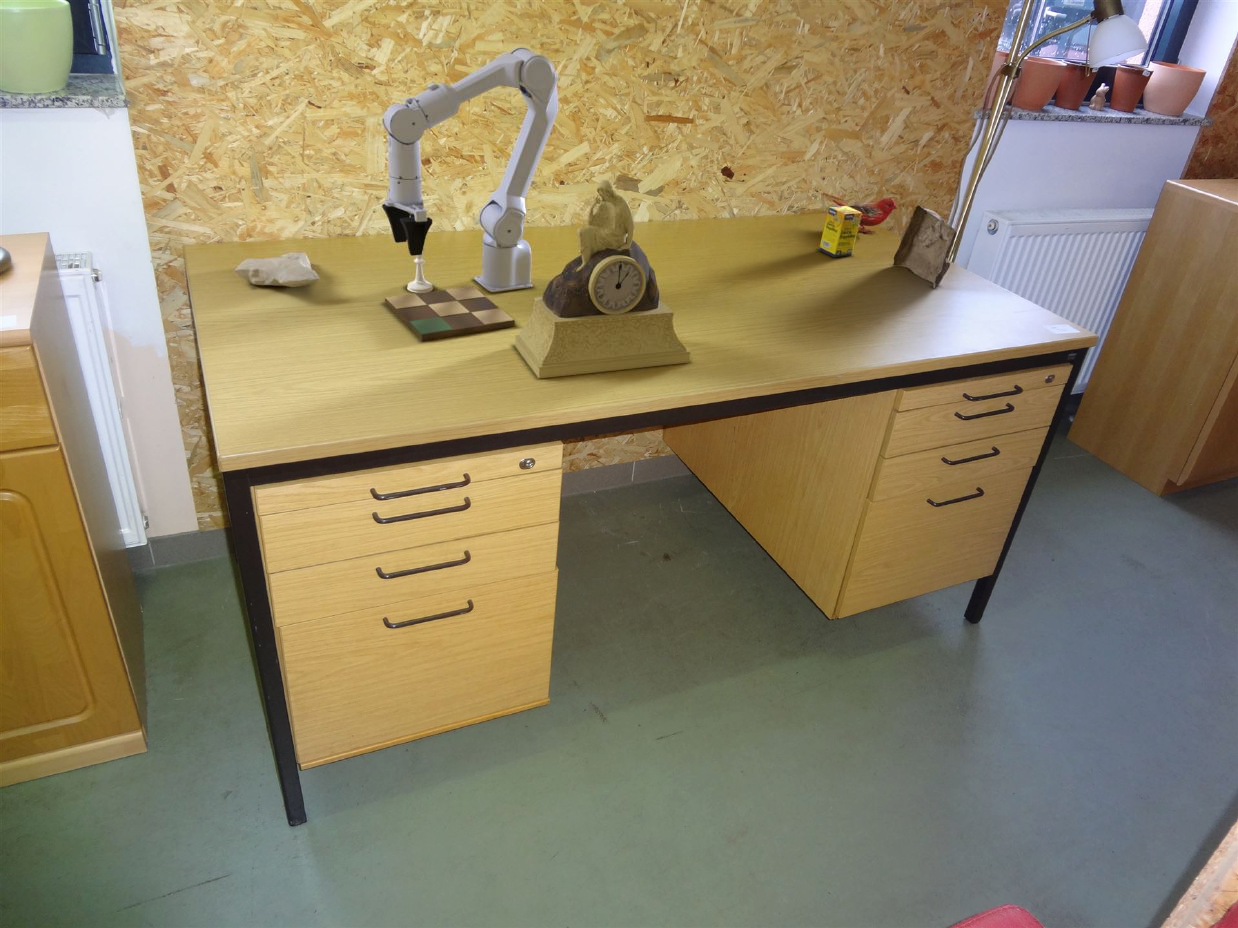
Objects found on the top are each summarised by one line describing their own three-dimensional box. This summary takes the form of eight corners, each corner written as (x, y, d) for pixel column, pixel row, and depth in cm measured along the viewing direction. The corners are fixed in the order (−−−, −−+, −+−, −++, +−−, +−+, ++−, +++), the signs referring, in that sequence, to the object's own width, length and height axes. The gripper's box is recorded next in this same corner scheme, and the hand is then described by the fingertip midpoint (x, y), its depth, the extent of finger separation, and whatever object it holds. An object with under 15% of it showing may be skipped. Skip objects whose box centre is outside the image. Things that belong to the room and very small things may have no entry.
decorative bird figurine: (888, 239, 231) (898, 201, 226) (825, 223, 238) (834, 187, 232) (891, 236, 233) (901, 199, 228) (829, 221, 240) (837, 185, 235)
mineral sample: (891, 264, 212) (908, 203, 204) (904, 264, 213) (922, 203, 205) (934, 290, 199) (954, 225, 191) (948, 289, 200) (968, 225, 192)
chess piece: (437, 287, 172) (436, 238, 167) (424, 295, 168) (423, 245, 162) (415, 282, 173) (413, 233, 168) (402, 290, 169) (400, 240, 164)
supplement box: (834, 258, 212) (844, 213, 206) (818, 250, 216) (828, 206, 211) (852, 256, 215) (862, 212, 209) (835, 248, 219) (846, 205, 213)
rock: (236, 306, 156) (322, 295, 160) (230, 281, 153) (317, 271, 158) (241, 272, 173) (318, 263, 177) (235, 250, 171) (313, 241, 175)
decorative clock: (538, 378, 142) (547, 195, 126) (515, 346, 152) (520, 172, 136) (688, 362, 153) (714, 192, 137) (657, 333, 163) (678, 171, 147)
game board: (472, 292, 172) (472, 285, 171) (514, 326, 159) (514, 319, 159) (385, 303, 162) (384, 297, 162) (421, 341, 150) (421, 334, 150)
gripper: (369, 166, 160) (374, 238, 167) (399, 187, 150) (402, 263, 157) (406, 164, 163) (409, 234, 171) (437, 185, 154) (438, 258, 161)
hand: (408, 248), depth 164 cm, fingers open, 7 cm apart
